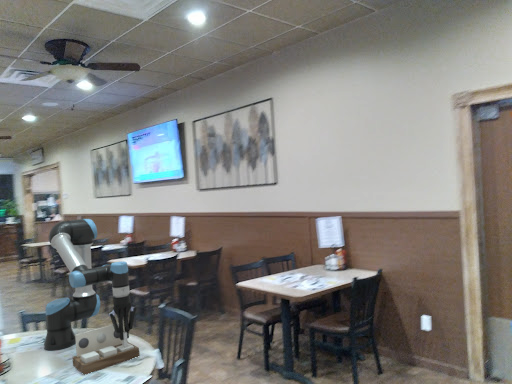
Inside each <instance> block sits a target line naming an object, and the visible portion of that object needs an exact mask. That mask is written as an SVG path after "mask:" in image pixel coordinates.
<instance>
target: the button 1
mask: <svg viewBox="0 0 512 384" xmlns="http://www.w3.org/2000/svg"><path fill="white" fill-rule="evenodd" d="M96 360H99V354H98V353H96V352H95V351H93V352H90V353H86V354H83V355H81V362H83V363H84V364H86V363H89V362H93V361H96Z"/></svg>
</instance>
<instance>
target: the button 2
mask: <svg viewBox="0 0 512 384" xmlns="http://www.w3.org/2000/svg"><path fill="white" fill-rule="evenodd" d="M129 343H130V342H129ZM129 343H128V346H127V347H123V346H122V345H121V346H118V347H116V348H117V350H118V351H119V352H124V351H127V350H130V349H133V348H134V346H135V345H134V344H133V345H134V346H133V345H131V344H132V343H131V344H129Z"/></svg>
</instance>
